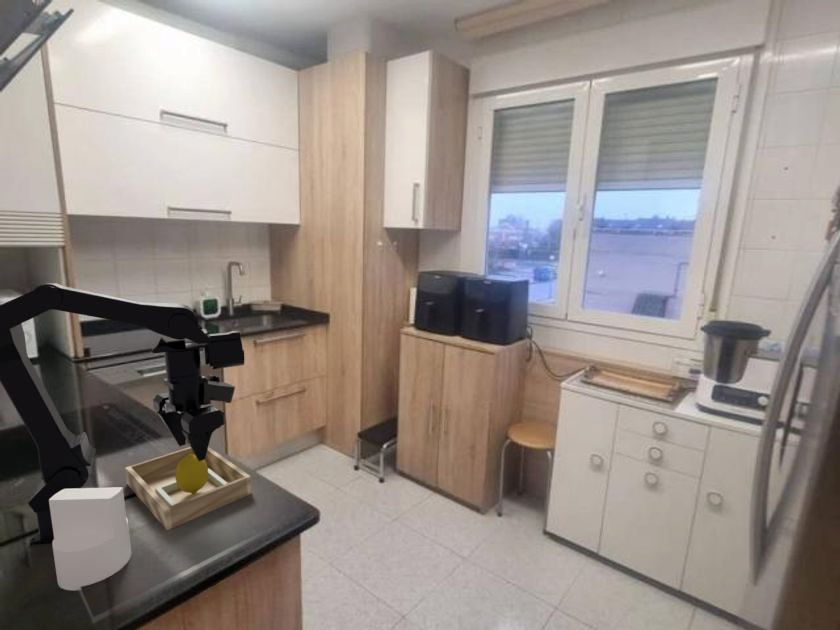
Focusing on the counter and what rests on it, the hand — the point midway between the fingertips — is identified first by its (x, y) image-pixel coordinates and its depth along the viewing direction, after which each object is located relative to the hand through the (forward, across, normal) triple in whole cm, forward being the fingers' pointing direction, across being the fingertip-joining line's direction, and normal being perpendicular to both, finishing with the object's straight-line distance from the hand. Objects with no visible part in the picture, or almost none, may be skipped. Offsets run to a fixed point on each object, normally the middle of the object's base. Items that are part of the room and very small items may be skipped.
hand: (191, 452), depth 84 cm
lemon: (+9, 0, 0) cm, 9 cm away
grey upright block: (+9, -9, +18) cm, 22 cm away
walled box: (+9, +3, 0) cm, 9 cm away
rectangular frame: (+8, 0, 0) cm, 9 cm away
